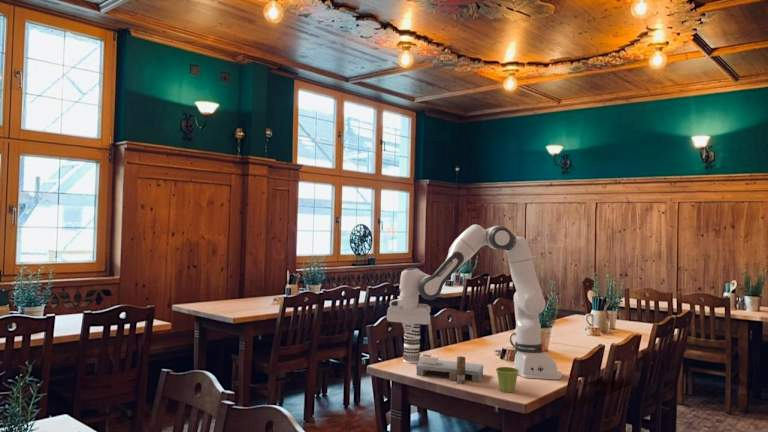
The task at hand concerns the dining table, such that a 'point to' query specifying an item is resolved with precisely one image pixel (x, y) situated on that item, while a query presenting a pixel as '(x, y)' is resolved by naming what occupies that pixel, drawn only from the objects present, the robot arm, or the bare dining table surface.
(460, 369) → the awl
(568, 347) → the dining table surface
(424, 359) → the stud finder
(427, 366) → the grey pallet
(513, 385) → the plant pot
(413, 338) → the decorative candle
